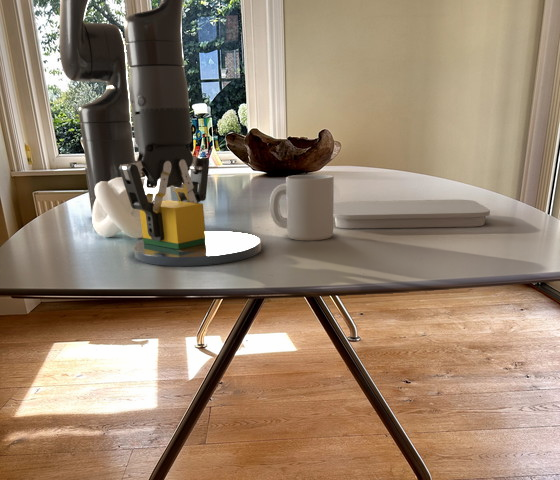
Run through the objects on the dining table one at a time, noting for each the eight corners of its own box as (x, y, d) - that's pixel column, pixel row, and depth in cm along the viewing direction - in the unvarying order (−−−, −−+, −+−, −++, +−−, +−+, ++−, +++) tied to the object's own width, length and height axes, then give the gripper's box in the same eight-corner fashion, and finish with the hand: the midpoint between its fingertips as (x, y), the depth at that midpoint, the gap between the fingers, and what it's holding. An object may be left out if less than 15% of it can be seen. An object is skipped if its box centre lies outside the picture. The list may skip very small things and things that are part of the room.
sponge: (143, 243, 86) (138, 204, 84) (170, 237, 89) (166, 200, 87) (178, 249, 81) (174, 208, 79) (206, 243, 84) (203, 203, 82)
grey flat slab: (331, 214, 113) (331, 202, 112) (470, 211, 111) (471, 199, 110) (331, 229, 98) (332, 215, 97) (493, 226, 96) (494, 212, 95)
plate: (109, 255, 85) (108, 246, 85) (204, 235, 97) (203, 227, 97) (191, 273, 74) (190, 263, 73) (287, 248, 86) (286, 239, 85)
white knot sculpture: (157, 242, 93) (151, 182, 89) (80, 244, 93) (71, 184, 89) (169, 229, 103) (164, 175, 100) (100, 231, 103) (92, 177, 100)
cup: (330, 241, 90) (330, 179, 86) (265, 240, 92) (263, 179, 88) (335, 232, 96) (336, 174, 93) (275, 231, 98) (273, 175, 94)
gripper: (184, 106, 85) (194, 226, 92) (96, 107, 76) (115, 242, 82) (220, 104, 81) (228, 231, 87) (131, 105, 71) (148, 248, 78)
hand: (173, 236), depth 85 cm, fingers closed on sponge, 5 cm apart
